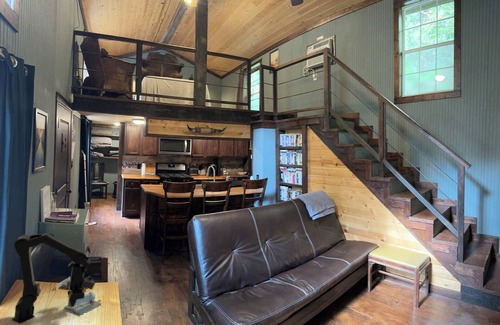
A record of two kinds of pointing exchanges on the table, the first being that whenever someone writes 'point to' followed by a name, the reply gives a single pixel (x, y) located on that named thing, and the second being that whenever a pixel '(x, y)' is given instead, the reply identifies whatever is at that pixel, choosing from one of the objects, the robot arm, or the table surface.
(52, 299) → the table surface
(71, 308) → the lid
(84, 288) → the graphics card
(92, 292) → the lever
